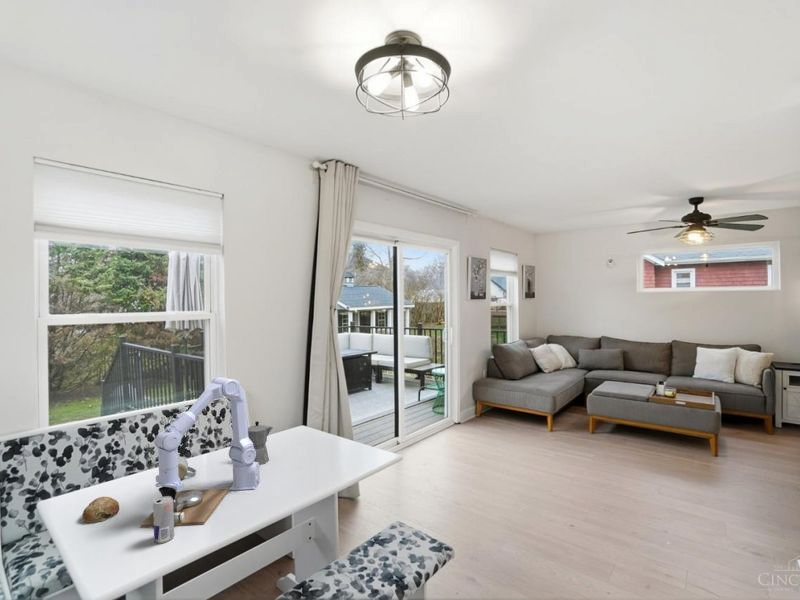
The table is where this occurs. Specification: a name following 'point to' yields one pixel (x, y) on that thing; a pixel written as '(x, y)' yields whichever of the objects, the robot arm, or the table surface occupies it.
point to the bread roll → (100, 510)
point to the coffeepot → (259, 441)
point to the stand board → (194, 509)
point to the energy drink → (163, 519)
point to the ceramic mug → (184, 468)
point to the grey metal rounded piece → (187, 500)
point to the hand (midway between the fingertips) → (169, 507)
